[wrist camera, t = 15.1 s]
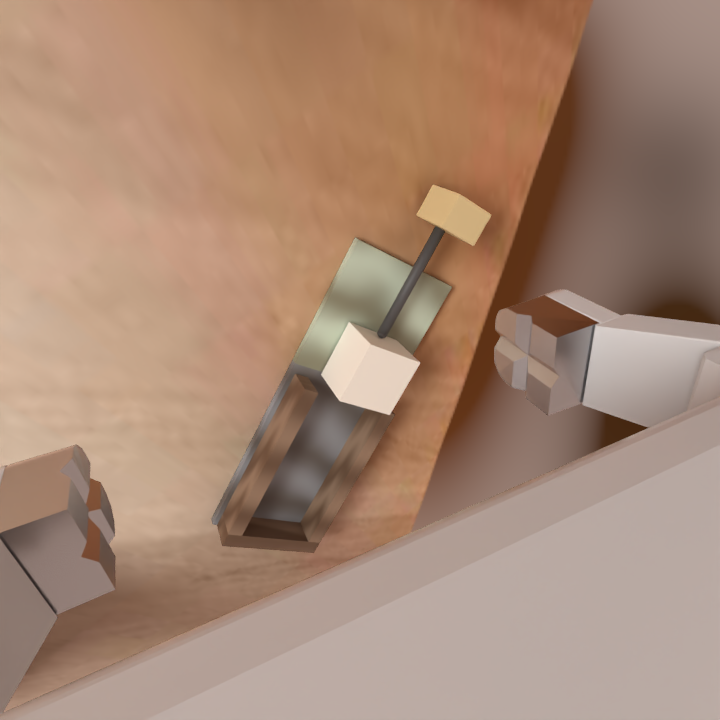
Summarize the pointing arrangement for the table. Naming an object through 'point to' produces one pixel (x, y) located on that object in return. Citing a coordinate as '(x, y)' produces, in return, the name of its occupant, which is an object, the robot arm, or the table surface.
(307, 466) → the shelf lane
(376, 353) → the block plunger with rod
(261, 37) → the table surface
